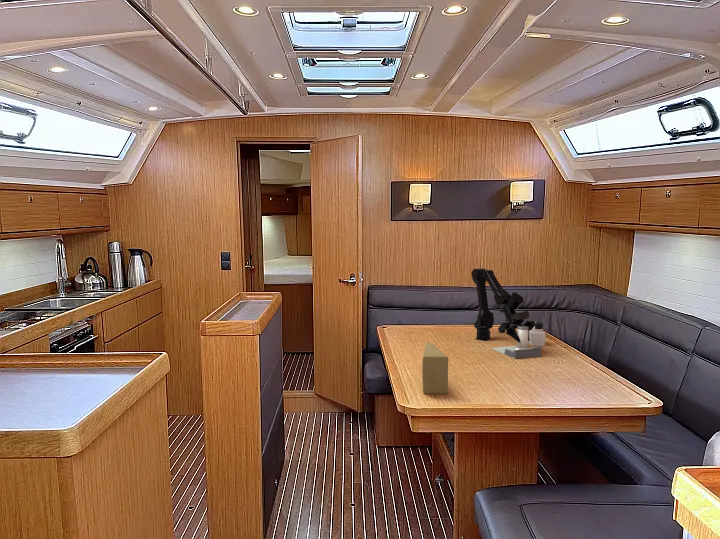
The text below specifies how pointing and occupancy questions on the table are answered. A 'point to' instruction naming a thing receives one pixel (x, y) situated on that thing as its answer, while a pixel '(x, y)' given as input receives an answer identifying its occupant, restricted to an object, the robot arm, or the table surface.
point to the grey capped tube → (522, 337)
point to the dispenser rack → (524, 352)
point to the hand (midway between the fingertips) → (524, 341)
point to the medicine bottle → (537, 335)
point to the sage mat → (502, 349)
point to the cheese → (434, 370)
